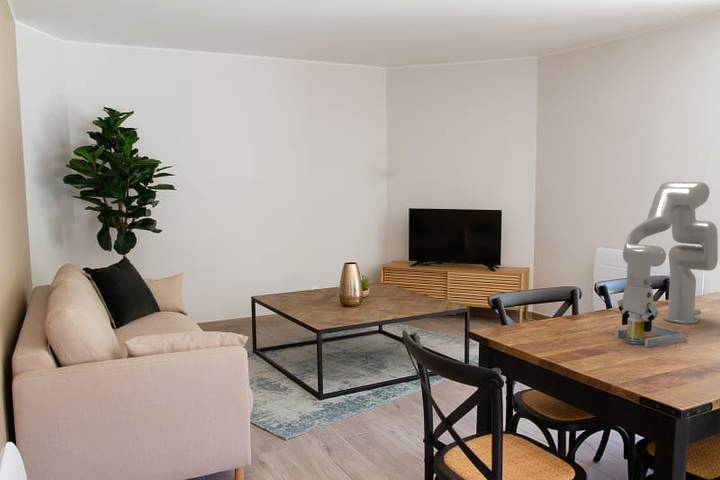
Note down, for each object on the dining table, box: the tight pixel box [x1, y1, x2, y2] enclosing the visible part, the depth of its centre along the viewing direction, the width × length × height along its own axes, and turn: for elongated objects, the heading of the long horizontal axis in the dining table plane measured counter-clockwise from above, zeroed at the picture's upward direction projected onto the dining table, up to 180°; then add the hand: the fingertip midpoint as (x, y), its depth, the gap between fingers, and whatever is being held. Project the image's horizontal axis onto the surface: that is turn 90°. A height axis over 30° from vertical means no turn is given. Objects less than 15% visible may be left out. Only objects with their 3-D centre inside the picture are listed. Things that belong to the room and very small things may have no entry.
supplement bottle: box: [626, 312, 646, 342], centre depth 211 cm, size 6×6×10 cm
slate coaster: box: [622, 337, 645, 346], centre depth 211 cm, size 8×8×1 cm
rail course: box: [614, 323, 688, 349], centre depth 216 cm, size 19×19×3 cm
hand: (636, 328), depth 211 cm, fingers open, 9 cm apart
